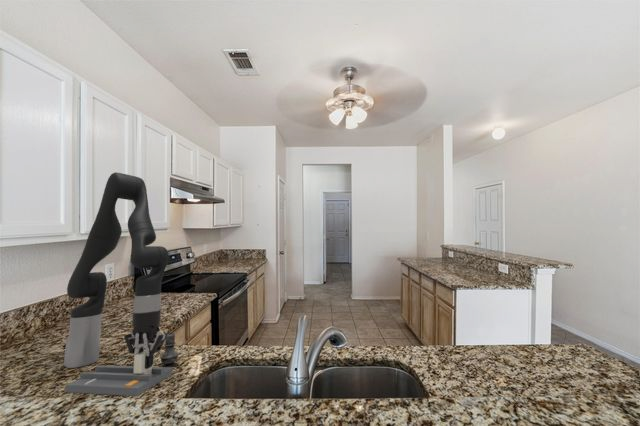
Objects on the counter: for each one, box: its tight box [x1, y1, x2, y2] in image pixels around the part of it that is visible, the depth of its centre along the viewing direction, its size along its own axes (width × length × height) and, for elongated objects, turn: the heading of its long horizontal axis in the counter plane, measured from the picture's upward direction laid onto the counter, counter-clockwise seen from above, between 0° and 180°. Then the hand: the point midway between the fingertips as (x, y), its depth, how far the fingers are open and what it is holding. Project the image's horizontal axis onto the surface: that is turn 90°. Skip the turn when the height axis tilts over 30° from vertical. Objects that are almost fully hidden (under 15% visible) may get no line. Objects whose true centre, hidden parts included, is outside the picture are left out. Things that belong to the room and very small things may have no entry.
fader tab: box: [133, 350, 155, 374], centre depth 84 cm, size 3×5×7 cm, turn 171°
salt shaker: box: [159, 329, 179, 368], centre depth 96 cm, size 6×6×12 cm
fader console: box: [64, 364, 174, 397], centre depth 84 cm, size 24×14×4 cm, turn 81°
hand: (143, 367), depth 83 cm, fingers closed on fader tab, 2 cm apart
